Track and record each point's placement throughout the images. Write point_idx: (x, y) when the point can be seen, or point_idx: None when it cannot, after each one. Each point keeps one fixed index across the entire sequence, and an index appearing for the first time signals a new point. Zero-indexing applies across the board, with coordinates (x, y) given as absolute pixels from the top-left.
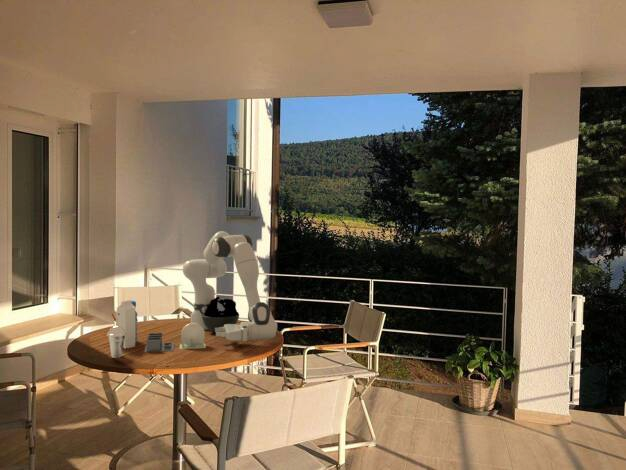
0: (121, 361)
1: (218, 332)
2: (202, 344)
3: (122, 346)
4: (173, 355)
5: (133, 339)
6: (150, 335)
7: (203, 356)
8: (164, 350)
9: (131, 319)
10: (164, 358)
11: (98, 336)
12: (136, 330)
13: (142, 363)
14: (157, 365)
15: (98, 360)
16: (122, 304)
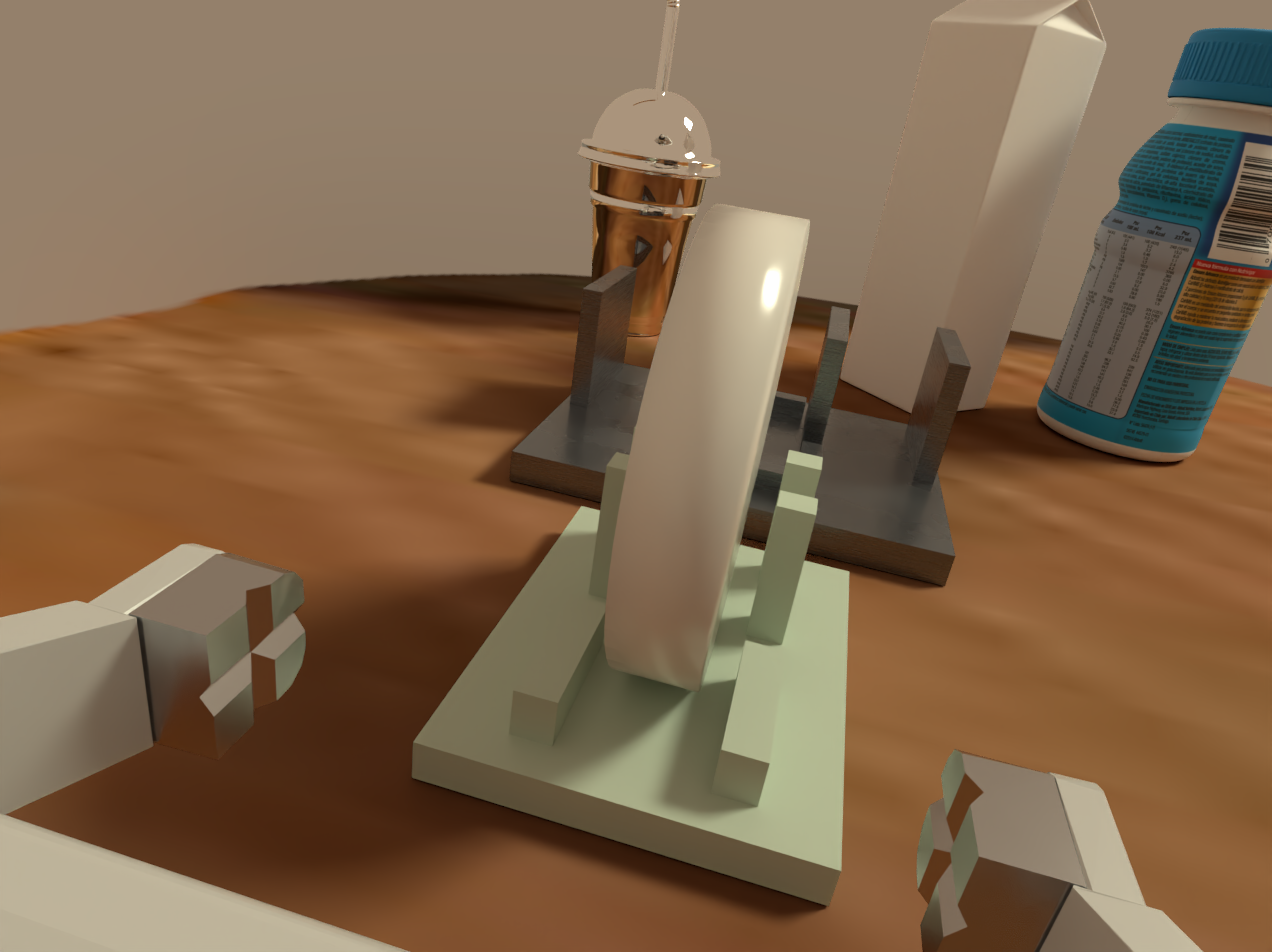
0: (475, 308)
1: (151, 576)
2: (533, 678)
3: (607, 255)
4: (409, 456)
5: (920, 347)
6: (840, 312)
7: (16, 608)
8: (566, 419)
9: (956, 148)
10: (352, 401)
11: (1266, 403)
12: (1150, 351)
13: (324, 325)
14: (169, 337)
15: (574, 289)
16: None
